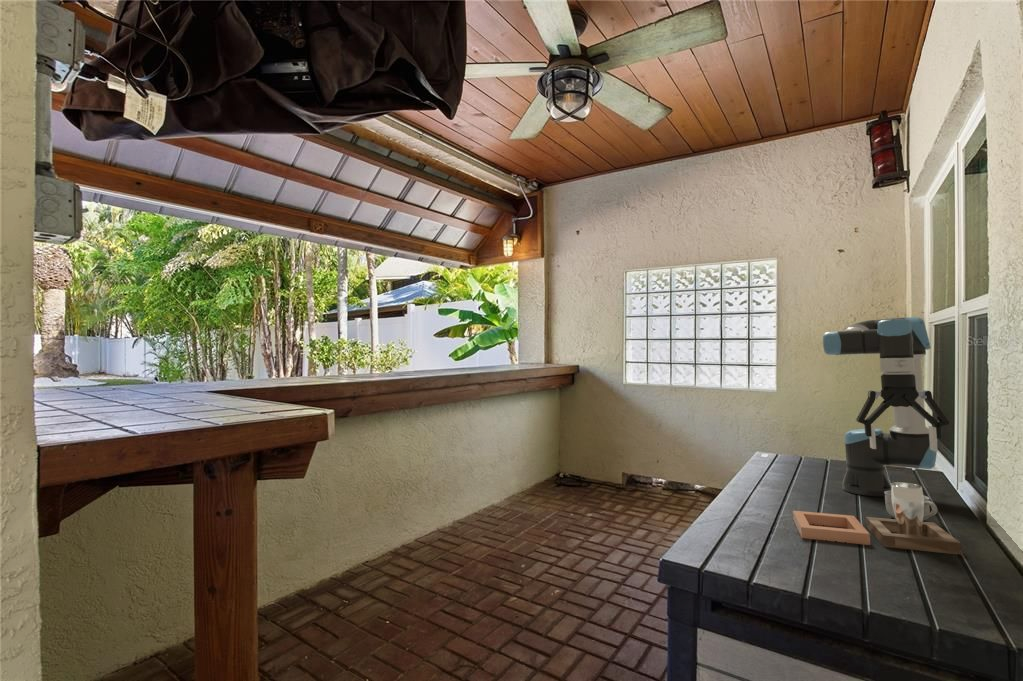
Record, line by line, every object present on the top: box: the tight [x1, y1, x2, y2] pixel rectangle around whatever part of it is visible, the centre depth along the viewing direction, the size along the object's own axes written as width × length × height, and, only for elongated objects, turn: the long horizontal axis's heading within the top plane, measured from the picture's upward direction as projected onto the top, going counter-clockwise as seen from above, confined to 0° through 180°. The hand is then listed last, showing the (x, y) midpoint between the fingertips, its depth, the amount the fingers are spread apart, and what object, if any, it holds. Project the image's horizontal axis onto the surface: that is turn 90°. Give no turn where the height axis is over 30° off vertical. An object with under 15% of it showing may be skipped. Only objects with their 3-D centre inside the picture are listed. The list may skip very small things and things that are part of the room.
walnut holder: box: [865, 516, 963, 556], centre depth 129 cm, size 16×16×3 cm
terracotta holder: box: [792, 510, 871, 546], centre depth 137 cm, size 16×16×3 cm
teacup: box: [884, 491, 938, 522], centre depth 143 cm, size 14×11×8 cm
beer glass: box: [890, 481, 924, 536], centre depth 130 cm, size 7×7×15 cm
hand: (902, 449), depth 131 cm, fingers open, 13 cm apart
